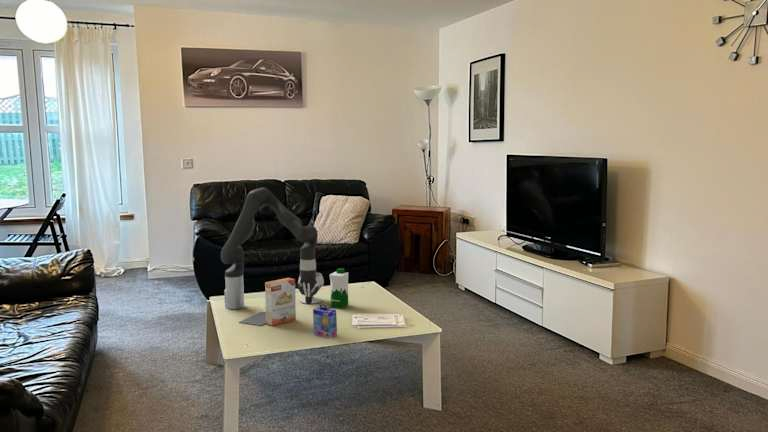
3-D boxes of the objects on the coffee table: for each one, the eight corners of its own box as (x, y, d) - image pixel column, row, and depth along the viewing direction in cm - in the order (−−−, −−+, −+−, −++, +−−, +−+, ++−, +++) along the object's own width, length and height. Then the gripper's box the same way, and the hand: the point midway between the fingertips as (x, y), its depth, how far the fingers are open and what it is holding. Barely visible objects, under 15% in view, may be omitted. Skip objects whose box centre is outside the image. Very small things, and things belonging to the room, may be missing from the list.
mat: (238, 322, 279) (238, 321, 279) (260, 312, 295) (260, 311, 295) (261, 326, 274) (261, 325, 274) (282, 315, 290) (282, 314, 290)
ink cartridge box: (312, 334, 261) (312, 304, 259) (320, 331, 266) (319, 301, 264) (330, 338, 256) (329, 307, 254) (337, 335, 261) (337, 304, 259)
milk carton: (350, 305, 308) (349, 268, 305) (343, 309, 299) (342, 272, 297) (335, 303, 311) (335, 267, 308) (328, 307, 303) (327, 271, 300)
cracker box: (272, 326, 273) (271, 284, 270) (265, 324, 277) (264, 281, 274) (296, 320, 283) (295, 278, 280) (289, 317, 287) (288, 276, 284)
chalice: (329, 300, 318) (328, 273, 316) (313, 306, 306) (312, 278, 304) (309, 296, 325) (309, 270, 323) (293, 302, 313) (292, 275, 311)
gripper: (291, 268, 269) (292, 304, 271) (316, 271, 264) (317, 307, 266) (300, 265, 276) (301, 300, 278) (324, 267, 271) (325, 303, 273)
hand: (308, 303), depth 272 cm, fingers closed
